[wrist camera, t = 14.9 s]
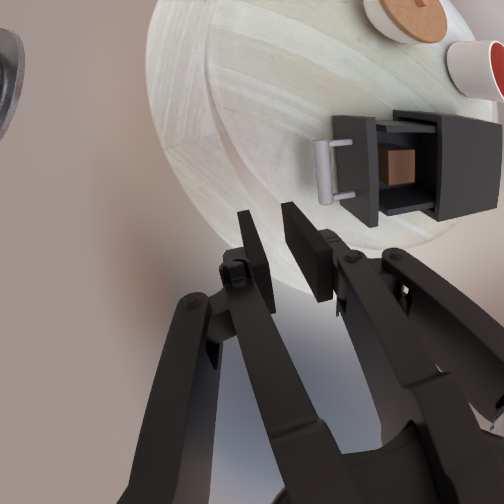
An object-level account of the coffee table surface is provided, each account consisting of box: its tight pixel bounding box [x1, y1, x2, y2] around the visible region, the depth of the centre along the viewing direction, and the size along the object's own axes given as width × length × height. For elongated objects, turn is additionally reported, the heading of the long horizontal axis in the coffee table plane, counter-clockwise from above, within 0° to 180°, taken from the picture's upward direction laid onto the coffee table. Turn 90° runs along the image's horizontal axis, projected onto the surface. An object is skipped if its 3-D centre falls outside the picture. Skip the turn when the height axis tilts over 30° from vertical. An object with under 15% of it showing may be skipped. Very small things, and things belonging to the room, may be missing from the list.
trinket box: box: [363, 0, 447, 44], centre depth 18 cm, size 11×11×9 cm
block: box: [377, 143, 415, 185], centre depth 28 cm, size 4×4×5 cm
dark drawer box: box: [393, 110, 502, 222], centre depth 29 cm, size 15×13×10 cm
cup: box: [447, 40, 504, 103], centre depth 22 cm, size 10×10×10 cm
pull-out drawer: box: [313, 115, 438, 228], centre depth 28 cm, size 18×12×8 cm, turn 99°
